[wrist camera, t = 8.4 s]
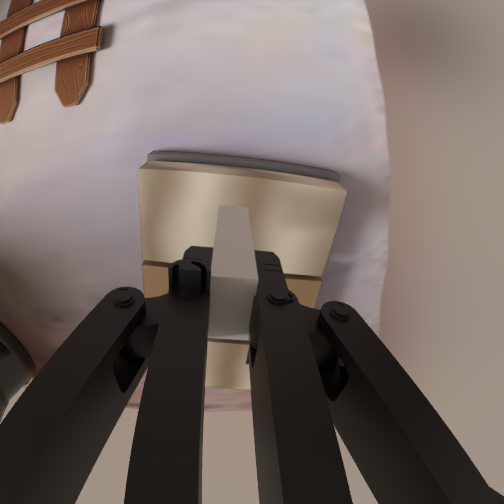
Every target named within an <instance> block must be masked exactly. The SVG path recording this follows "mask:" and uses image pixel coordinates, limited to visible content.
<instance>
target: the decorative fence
mask: <svg viewBox="0 0 504 504" xmlns="http://www.w3.org/2000/svg"><path fill="white" fill-rule="evenodd" d="M32 1H33V0H11V4H10V7H9V11H8V14H7V18H6V19H5V20H3V21H1V22H0V39H2V42H1V47H0V124H5V123H8V122H11V121H12V118H13V115H14V112H15V109H16V107H17V104H18V92H19V76H20V75H21V74H23V73H26V72H28V71H31V70H33V69H36V68H39V67H42V66H45V65H48V64H51V63H54V62H57V65H56V76H55V93H56V95H57V96H58V98H59V100H60V102H61V104H62V106H63V107H69V106H75V105H78V104H79V103H80V101H81V99H82V97H83V95H84V93H85V91H86V89H87V87H88V86H89V83H90V72H91V60H92V52H94V51H99V49H100V48H101V42H102V34H103V28H102V27H101V26H97V27H96V23H97V17H98V11H99V6H100V2H101V0H40V1H38V2H36V3H34V4H32ZM64 9H65V14H64V18H63V23H62V29H61V35H60V38H57V39H54V40H51V41H49V42H46V43H43V44H41V45H38V46H36V47H33V48H31V49H29V50H26V51H24V52H22V50H23V43H24V37H25V32H26V27H27V25H28V24H31V23H33V22H35V21H37V20H39V19H42V18H44V17H46V16H49V15H51V14H54V13H56V12H59V11H61V10H64Z"/></svg>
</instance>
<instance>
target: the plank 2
mask: <svg viewBox="0 0 504 504" xmlns="http://www.w3.org/2000/svg"><path fill="white" fill-rule="evenodd" d="M249 344H250V341H246V340H232V339H217V338H208V345H207V362H206V378H205V387H216V388H230V389H249V390H251V386H250V371H249V364H246V360H247V354H248V349H249Z"/></svg>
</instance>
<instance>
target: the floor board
mask: <svg viewBox="0 0 504 504" xmlns="http://www.w3.org/2000/svg"><path fill="white" fill-rule="evenodd" d="M148 161H164V162H182V163H197V164H209V165H221V166H231V167H241V168H250V169H258V170H266V171H274V172H281V173H288V174H295V175H301V176H308V177H314V178H320V179H325V180H331V181H337V182H338V181H339V177H340V175H338V174H337V173H336V172H334V171H331V170H325V169H320V168H314V167H308V166H302V165H296V164H290V163H283V162H276V161H269V160H261V159H253V158H244V157H235V156H225V155H214V154H201V153H186V152H167V151H153V152H151V153H149V154H148ZM170 265H171V263H168V262H159V261H149V260H144V261H143V263H142V275H143V285H144V294H145V298H150V297H157V296H161V295H164V294H166V293H168V291H169V280H168V267H169V266H170ZM284 276H285V280H286V283H287V287H288V290H290V291H291V292H293V293H294V294H295V295H296V297H297V298H298V301H299V303H300V304H302V305H304V306H307V307H310V308H314V306H315V303H316V300H317V297H318V294H319V290H320V287H321V284H322V279H321V277H320V276H310V275H298V274H286V273H284ZM246 341H250V335H249V337H248V340H246Z"/></svg>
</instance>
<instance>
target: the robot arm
mask: <svg viewBox="0 0 504 504" xmlns="http://www.w3.org/2000/svg"><path fill="white" fill-rule="evenodd" d="M168 280H169V291H168V293H166V294H164V295H161V296H157V297H150V298H144V294H143V293H142V292H141V291H140V290H138V289H136V288H133V287H120V288H117V289H114V290H112V291H111V292H109V293H108V294H107V295H106V296H105V297H104V298H103V299H102V300H101V301H100V302H99V303H98V304H97V306H96V307H95V308H94V309H93V310H92V311H91V312H90V313H89V314H88V315H87V316H86V318H85V319H84V320H83V321H82V322H81V323H80V324H79V325H78V326H77V328H76V329H75V330H74V331H73V332H72V333H71V334H70V336H69V337H68V338H67V339H66V340H65V341H64V342H63V344H62V345H61V346H60V347H59V348H58V350H57V351H56V352H55V353H54V354H53V356H52V357H51V358H50V359H49V360H48V362H47V363H46V364H45V365H44V366H43V368H42V369H41V370H40V371H39V373H38V374H37V375H36V377H35V378H34V379H33V380H32V382H31V383H30V384H29V386H28V387H27V388H26V389H25V391H24V392H23V393H22V395H21V396H20V397H19V399H18V400H17V402H16V403H15V404H14V406H13V407H12V409H11V410H10V411H9V413H8V414H7V415H6V417H5V418H4V420H3V421H2V423H1V424H0V504H75V502H76V500H77V498H78V496H79V494H80V492H81V490H82V488H83V486H84V484H85V482H86V480H87V478H88V476H89V474H90V472H91V470H92V468H93V466H94V465H95V463H96V461H97V459H98V457H99V455H100V453H101V451H102V449H103V447H104V445H105V443H106V442H107V440H108V438H109V436H110V434H111V432H112V430H113V429H114V427H115V425H116V423H117V421H118V419H119V417H120V416H121V414H122V412H123V410H124V408H125V407H126V405H127V403H128V401H129V399H130V398H131V396H132V394H133V392H134V391H135V389H136V387H137V385H138V383H139V382H140V380H141V378H142V376H143V375H144V373H145V371H146V369H147V368H148V370H147V374H146V379H145V383H144V388H143V392H142V397H141V401H140V406H139V411H138V417H137V421H136V427H135V433H134V438H133V443H132V450H131V456H130V462H129V469H128V475H127V482H126V491H125V499H124V504H202V447H203V446H202V445H203V419H204V397H205V378H206V362H207V345H208V338H217V339H232V340H248V337H249V335H250V344H249V349H248V354H247V360H246V364H249V371H250V386H251V400H252V413H253V427H254V439H255V440H254V441H255V453H256V467H257V479H258V491H259V501H260V504H353V502H352V498H351V495H350V490H349V485H348V482H347V477H346V473H345V469H344V465H343V460H342V457H341V452H340V448H339V444H338V441H337V436H336V432H335V429H334V426H335V428H336V430H337V431H338V433H339V435H340V437H341V439H342V440H343V442H344V444H345V446H346V447H347V449H348V451H349V453H350V454H351V456H352V458H353V460H354V462H355V463H356V465H357V467H358V469H359V471H360V472H361V474H362V476H363V477H364V479H365V481H366V483H367V485H368V486H369V488H370V490H371V492H372V493H373V495H374V497H375V499H376V500H377V502H378V504H504V496H502V495H501V494H499V493H498V492H496V491H495V490H493V489H492V488H490V487H489V486H488V485H487V483H486V482H485V480H484V479H483V477H482V475H481V474H480V472H479V471H478V469H477V468H476V467H475V465H474V464H473V462H472V461H471V459H470V458H469V456H468V455H467V453H466V452H465V450H464V449H463V448H462V446H461V445H460V443H459V442H458V440H457V439H456V438H455V436H454V435H453V434H452V432H451V431H450V429H449V428H448V427H447V425H446V424H445V423H444V421H443V420H442V418H441V417H440V416H439V414H438V413H437V412H436V410H435V409H434V408H433V406H432V405H431V404H430V402H429V401H428V400H427V398H426V397H425V396H424V395H423V393H422V392H421V391H420V389H419V388H418V387H417V385H416V384H415V383H414V382H413V380H412V379H411V378H410V376H409V375H408V374H407V373H406V371H405V370H404V369H403V367H402V366H401V365H400V364H399V362H398V361H397V360H396V359H395V357H393V355H392V354H391V353H390V351H389V350H388V349H387V348H386V346H385V345H384V344H383V343H382V341H381V340H380V339H379V338H378V337H377V335H376V334H375V333H374V332H373V330H372V329H371V328H370V327H369V326H368V324H367V323H366V322H365V321H364V320H363V318H362V317H361V316H360V315H359V314H358V313H357V311H356V310H355V309H353V308H352V307H351V306H349V305H347V304H345V303H343V302H339V301H330V302H327V303H325V304H324V305H323V306H322V307H321V310H318V309H314V308H310V307H307V306H304V305H302V304H300V303H299V301H298V298H297V297H296V295H295V294H294V293H293V292H291V291H290V290H288V287H287V283H286V280H285V276H284V273H283V269H282V266H281V262H280V259H279V257H278V256H277V255H276V254H275V253H274V252H270V251H259V250H254V245H253V238H252V231H251V224H250V217H249V210H248V208H244V207H234V206H223V205H219V211H218V218H217V225H216V233H215V240H214V247H202V246H190V247H189V248H188V249H187V250H185V252H184V255H183V259H181V260H177V261H175V262H173V263H171V265H170V266H169V267H168ZM34 371H35V368H34V365H33V362H32V360H31V358H30V356H29V355H28V353H27V352H26V350H25V349H24V348H23V346H22V345H21V344H20V343H19V342H18V340H17V339H16V338H15V337H14V336H13V335H12V334H11V333H10V332H9V331H8V330H7V329H6V328H5V327H4V326H3V325H1V324H0V422H1V419H2V416H3V414H4V412H5V410H6V407H7V405H8V403H9V401H10V399H11V398H12V397H13V396H14V395H15V394H16V393H17V392H18V391H19V390H20V389H21V388H22V387H23V385H26V384H27V383H29V381H30V380H31V378H32V376H33V374H34ZM333 424H334V425H333Z"/></svg>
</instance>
